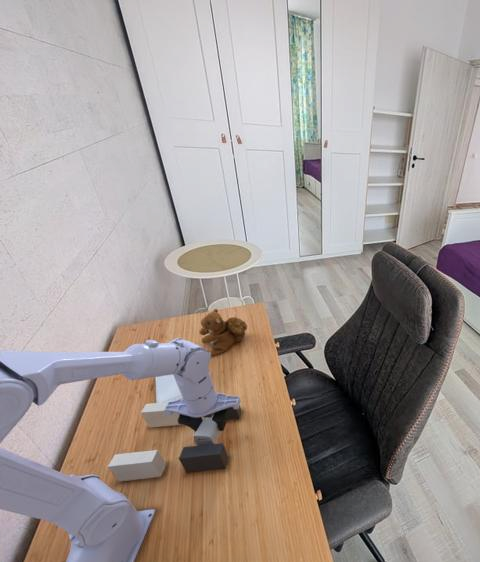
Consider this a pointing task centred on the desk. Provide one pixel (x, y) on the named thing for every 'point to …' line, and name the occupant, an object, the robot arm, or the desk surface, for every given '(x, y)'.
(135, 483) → the desk surface
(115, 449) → the desk surface
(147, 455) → the white cases
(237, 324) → the stuffed squirrel
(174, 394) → the hard drive
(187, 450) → the grey cases
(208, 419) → the usb wall charger
